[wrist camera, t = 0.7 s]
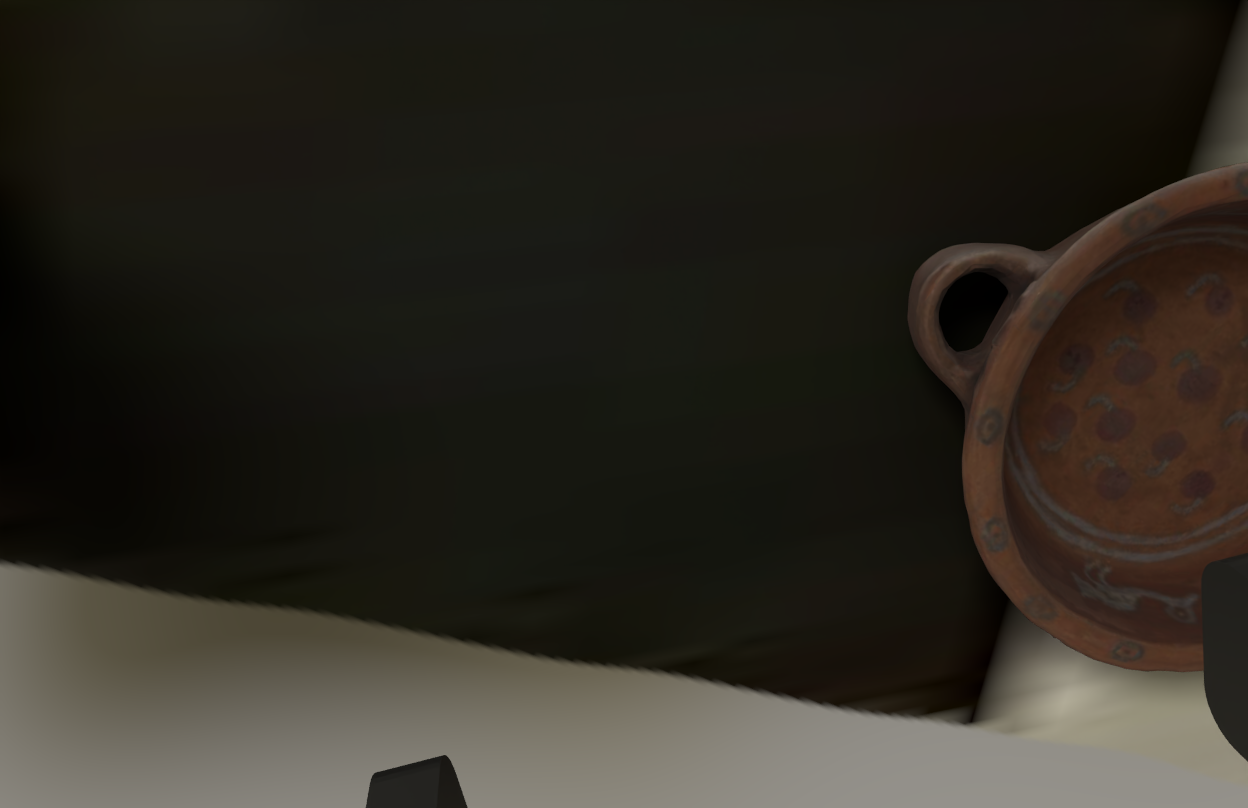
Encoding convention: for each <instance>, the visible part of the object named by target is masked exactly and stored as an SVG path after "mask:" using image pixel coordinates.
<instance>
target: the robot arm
mask: <svg viewBox="0 0 1248 808" xmlns="http://www.w3.org/2000/svg"><path fill="white" fill-rule="evenodd" d="M1201 596H1202V628H1203V661H1204V686H1205V693H1206V698H1207V701H1208V705H1209V707H1210V710H1211V713H1212V715H1213V717H1214V719H1215V721H1216V723H1217V725H1218V727H1219V729H1220V730H1221V732H1222V733H1223V735H1224V737H1225V738H1226V739H1227V740H1228V742H1229V743H1230V744H1231V745H1232V746H1233V748H1234V749H1235V750H1236V751H1237V752H1238V753H1239V754H1240V755H1241V756H1243V757H1244V758H1245V759H1246V760H1247V761H1248V553H1245V554H1241V555H1237V556H1233V557H1229V558H1225V559H1221V560H1217V561H1213V562H1211V563H1209V564H1207V566H1206V567H1205V569H1204V571H1203V574H1202V579H1201ZM366 808H467V805H466V802H465V799H464V796H463V793H462V790H461V787H460V784H459V781H458V778H457V775H456V772H455V770H454V767H453V765H452V763H451V761H450V759H449V758H448V757H447V756H446V755H443V756H439V757H435V758H431V759H427V760H424V761H420V762H416V763H412V764H408V765H405V766H400V767H397V768H392V769H388V770H385V771H381V772H377V773H374V775H373V776H372V779H371V782H370V787H369V793H368V798H367V805H366Z"/></svg>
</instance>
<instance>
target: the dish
mask: <svg viewBox="0 0 1248 808" xmlns="http://www.w3.org/2000/svg"><path fill="white" fill-rule="evenodd" d="M973 272H984V273H986V274H988V275H991V276H993V277H996V278H997V279H998V280H999V281H1000V282H1001V283H1003V284H1004V285H1005V286H1006V288H1007V290H1008V294H1007V296H1006V298H1005V300H1004V302H1003V303H1002V305H1001V307H1000V309H999V311H998V313H997V314H996V316H995V318H994V320H993V322H992V324H991V325H990V327H989V329H988V331H987V333H986V335H985V337H984V339H983V341H982V343H980V344H979V345H978V346H976V347H975V348H973V349H970V350H967V351H960V352H956V351H954V350H953V349H952V348H951V347H950V346H949V345H948V343H947V342H946V340H945V338H944V335H943V332H942V330H941V327H940V324H939V309H940V305H941V302H942V300H943V298H944V296H945V294H946V292H947V290H948V289H949V288H950V287H951V286H952V285H953V283H954V282H955V281H956V280H958V279H959V278H961V277H963V276H965V275H968V274H970V273H973ZM908 324H909V329H910V333H911V336H912V339H913V343H914V346H915V348H916V350H917V351H918V353H919V355H920V356H921V357H922V359H923V360H924V361H925V363H926V364H927V365H928V367H929V368H930V369H931V370H932V371H933V372H934V373H935V374H936V376H937V377H938V378H939V379H940V380H941V381H942V382H943V383H944V384H945V385H946V386H947V387H948V388H950V389H951V390H952V391H953V392H954V394H955V395H956V396H957V397H958V399H959V400H960V401H961V403H962V405H963V407H964V409H965V436H964V446H963V454H962V479H963V490H964V501H965V505H966V508H967V512H968V516H969V521H970V527H971V532H972V536H973V539H974V542H975V545H976V547H977V549H978V552H979V554H980V556H981V558H982V560H983V562H984V564H985V566H986V568H987V569H988V571H989V573H990V574H991V576H992V577H993V579H994V580H995V582H996V583H997V584H998V585H999V587H1000V588H1001V589H1002V590H1003V591H1004V592H1005V593H1006V595H1007V596H1008V597H1009V598H1010V600H1011V601H1012V602H1013V603H1014V605H1015V606H1016V607H1017V608H1018V609H1019V610H1020V611H1021V612H1022V613H1023V614H1024V615H1025V616H1026V618H1027V619H1028V620H1030V621H1031V622H1032V623H1034V624H1035V625H1036V626H1038V627H1040V628H1041V629H1043V630H1045V631H1046V632H1048V633H1049V634H1051V635H1052V636H1053V638H1057V639H1059V640H1060V641H1061V642H1062V643H1064V644H1065V645H1066V646H1068V647H1070V648H1072V649H1074V650H1076V651H1078V652H1080V653H1082V654H1084V655H1086V656H1088V657H1090V658H1092V659H1095V660H1097V661H1101V662H1104V663H1108V664H1111V665H1115V666H1118V667H1122V668H1125V669H1131V670H1140V671H1176V672H1190V671H1203V670H1204V661H1203V628H1202V596H1201V579H1202V574H1203V571H1204V569H1205V567H1206V566H1207V564H1209V563H1211V562H1213V561H1217V560H1221V559H1225V558H1229V557H1233V556H1237V555H1241V554H1245V553H1248V162H1244V163H1239V164H1234V165H1230V166H1225V167H1221V168H1217V169H1214V170H1211V171H1208V172H1205V173H1201V174H1197V175H1194V176H1192V177H1189V178H1186V179H1183V180H1180V181H1178V182H1175V183H1173V184H1171V185H1168V186H1166V187H1164V188H1161V189H1159V190H1157V191H1155V192H1153V193H1151V194H1149V195H1147V196H1145V197H1143V198H1141V199H1139V200H1137V201H1135V202H1133V203H1131V204H1129V205H1127V206H1125V207H1123V208H1120V209H1118V210H1116V211H1114V212H1112V213H1110V214H1108V215H1106V216H1105V217H1103V218H1101V219H1099V220H1097V221H1095V222H1093V223H1092V224H1090V225H1088V226H1086V227H1084V228H1082V229H1080V230H1079V231H1077V232H1076V233H1074V234H1072V235H1071V236H1069V237H1068V238H1066V239H1065V240H1063V241H1062V242H1060V243H1058V244H1057V245H1055V246H1054V247H1052V248H1051V249H1048V250H1046V251H1033V250H1030V249H1027V248H1025V247H1022V246H1017V245H1011V244H998V243H969V244H960V245H955V246H951V247H948V248H945V249H943V250H940V251H939V252H937V253H936V254H934V255H933V256H931V257H930V258H929V259H928V260H927V261H925V262H924V263H923V264H922V265H921V266H920V268H919V269H918V270H917V271H916V272H915V275H914V277H913V281H912V285H911V289H910V293H909V304H908Z"/></svg>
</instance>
